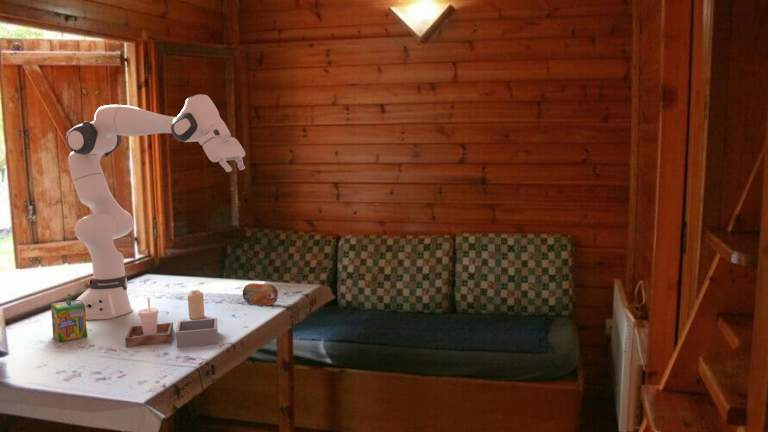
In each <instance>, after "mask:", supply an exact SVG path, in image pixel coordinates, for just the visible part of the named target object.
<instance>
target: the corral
mask: <svg viewBox="0 0 768 432" xmlns="http://www.w3.org/2000/svg"><path fill="white" fill-rule="evenodd" d="M173 334H174V323H173V322H163V323H157V335H148V336H144V334H143V330H142V325H141V324H140V325H131V326H130V328H129V330H128V332H127V334H126V336H125V338H124V339H125V348H132V347H143V346H144V347H145V346H154V345H165V344H171V341H172V337H173Z"/></svg>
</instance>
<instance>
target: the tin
mask: <svg viewBox="0 0 768 432" xmlns="http://www.w3.org/2000/svg"><path fill="white" fill-rule="evenodd" d="M242 289H243V290H242V297H243V299H244V302H245V303H247V304H248V305H252V306H253V305H255V306H265V307H266V306H267V307H268V306H271V305H273V304H275V303H276V302H277V300H278V298H279V293H278V290H277V288H276V286H274V285H273V284H271V283H258V282H257V283H255V282H254V283H248V284H246V285H245V286H244V288H242Z"/></svg>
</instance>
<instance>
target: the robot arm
mask: <svg viewBox="0 0 768 432" xmlns="http://www.w3.org/2000/svg"><path fill="white" fill-rule="evenodd" d="M155 134H157V135H158V134H172V136H173V138H174V139H175V140H177V141H178V142H183V143H193V142H194V143H195V142H198V143H199V145H200V146H202V149H203V151H204V153H205V154H206V156H207V158H208V160H209V161H211V162H212V163H219V165H220V166H221V167H222V168H223V169H224V170H225V172H226V173H230V172H232V170H233V168H232V166H231V165H229V163H228V161H235V162H236V164H237V169H238V170H239V171H242V170H243V171H244V169H246V166H245V165H244V161H243V158H244V157H245V156H246V152H245V150H244V148H243V146H242V145H241V143H240V142H239V141H238V139H237V138H235V137H233V136H232V134H231V132H230V130H229V129H228V126H227V125H226V123H225V121H224V120H223V119H222V118H221V116H220V113H219V110H218V108H217V107H216V105H215V103H214V102H213V101H212V99H211V98H210V96H209V95H207V94H203V93H201V94H200V93H199V94H198V93H197V94H194V95H191V96H189V97H187V98H186V100H185V103H184V106H183V108H182V109H181V111H180V113H179V114H178V115H177V116H171V115H164V114H161V113H156V112H153V111H149V110H146V109H142V108H140V107H137V106H136V107H135V106H132V105H131V106H130V105H122V104H120V105H119V104H109V105H103V106H100V107H98V109H97V110H96V112H95V114H94V120H93V121H91V122H90V121H86V120H85V121H84V122H82V123H80V124H77V125H76V126H74V127H72V128H70V129H69V130H68V131H67V133H66V137H65V142H66V145H67V147H68V148H69V150H70V151H71V152H70V153H69V155H68V157H67V161H68V169H69V172H70V177H71V179H72V180H71V181H72V182H73V186H74V188H75V192H76V194H77V197H78V200H79V202H81V204H83V205H85V206H87V207H88V208H89V209H90V210H91V212H92V213H91V214H87V215H86V216H83V217H81V218H80V219H78V220H77V221H76V223H75V225H74V234H75V237H76V239H77V240H79V242H81V243H82V244H84V246H85V248H87V250H88V253H89V255H90V259H91V264H92V273H93V276H91V277H89V278H88V282H87V285H88V287H89V288H88V289H86V290H85V291H84V292H83V293H82V294H81V295H79V296H78V297H77V298H76V299H75V300H80V301H81V302H82V303H84V304H85V314H86V321H89V320H91V321H92V320H109V319H114V318H115V317H119V316H123V315H126V314H129V313H131V312H132V311H133V308H132V306H131V303H130V299H129V295H128V278H127V275H126V271H125V261H124V260H125V259H124V255H123V253H121V251H118V250H117V248H116V245H115V243H114V240H115V239H119V238H122V237H124V236H126V235H128V234H129V233H131V232H132V230H133V229H134V226H135V225H134V224H135V223H134V218H133V216H132V214H131V213H129V212H128V211H127V210H126V209H124V208H122V206H121V205H120V204H119V203H118V202H117V200H116V198H114V196H113V194H112V193H111V190H110V188H109V185H108V182H107V179H106V177H105V174H104V170H103V168H102V165H101V159H102V158H107V157H109V156H110V155H111V153H113V152H115V151H117V150H118V149H119V148H120V146H121V144H122V137H123V136H124V137H141V136H149V135H155Z"/></svg>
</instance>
